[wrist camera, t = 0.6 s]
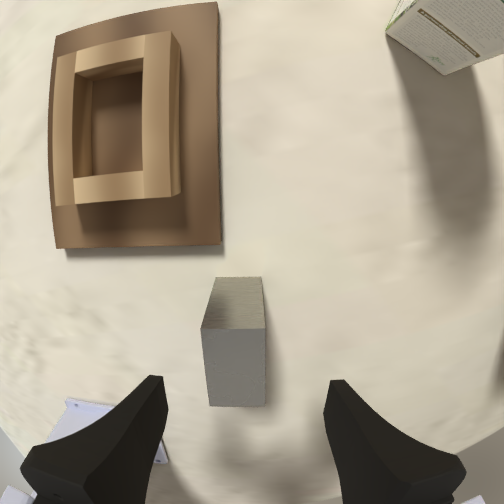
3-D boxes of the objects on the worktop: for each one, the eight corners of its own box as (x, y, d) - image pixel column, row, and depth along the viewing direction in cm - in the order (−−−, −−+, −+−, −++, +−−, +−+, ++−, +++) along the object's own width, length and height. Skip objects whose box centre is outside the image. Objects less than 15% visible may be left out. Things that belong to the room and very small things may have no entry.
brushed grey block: (220, 341, 22) (209, 406, 16) (215, 277, 21) (200, 328, 14) (261, 341, 22) (264, 406, 16) (260, 276, 21) (265, 328, 14)
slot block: (63, 245, 20) (36, 258, 17) (62, 39, 16) (38, 26, 13) (221, 240, 20) (215, 255, 17) (218, 8, 16) (212, -17, 13)
